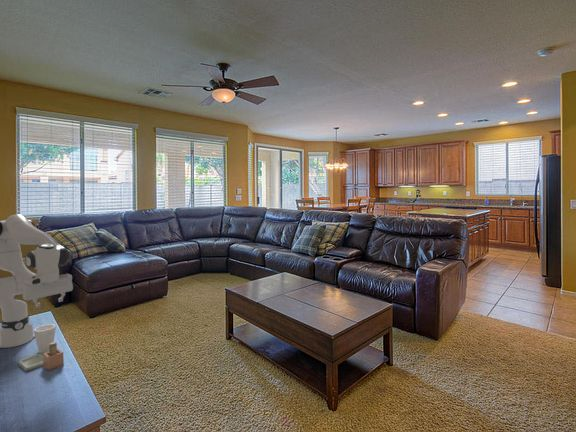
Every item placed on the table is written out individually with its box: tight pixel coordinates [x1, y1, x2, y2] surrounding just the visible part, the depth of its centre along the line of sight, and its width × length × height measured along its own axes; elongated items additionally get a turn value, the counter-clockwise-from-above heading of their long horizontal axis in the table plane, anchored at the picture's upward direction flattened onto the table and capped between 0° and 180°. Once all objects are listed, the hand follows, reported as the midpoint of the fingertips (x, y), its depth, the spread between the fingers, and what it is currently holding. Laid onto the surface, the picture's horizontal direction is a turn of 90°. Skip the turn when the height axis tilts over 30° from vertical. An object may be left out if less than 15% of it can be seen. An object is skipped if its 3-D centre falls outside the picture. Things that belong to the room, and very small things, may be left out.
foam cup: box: [33, 323, 57, 354], centre depth 173 cm, size 10×9×13 cm
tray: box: [17, 352, 44, 373], centre depth 160 cm, size 12×9×2 cm
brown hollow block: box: [42, 348, 65, 372], centre depth 158 cm, size 6×6×7 cm
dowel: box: [49, 341, 58, 356], centre depth 157 cm, size 3×3×11 cm
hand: (49, 304), depth 156 cm, fingers open, 8 cm apart
